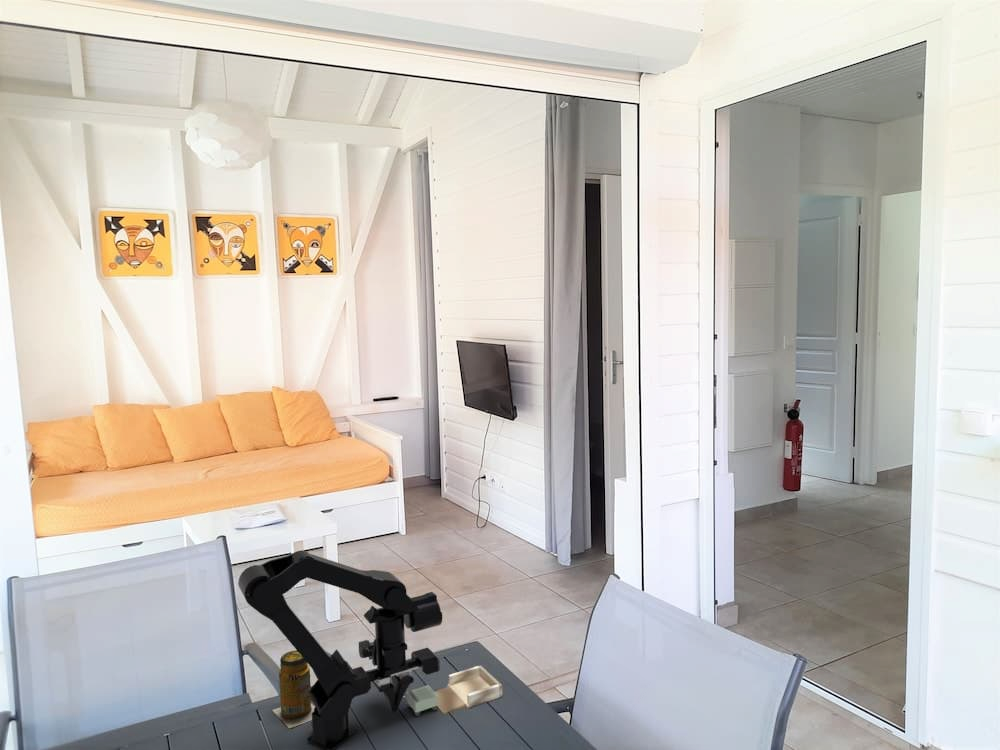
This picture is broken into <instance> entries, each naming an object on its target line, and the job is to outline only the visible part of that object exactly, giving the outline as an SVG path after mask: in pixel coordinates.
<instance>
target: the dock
mask: <svg viewBox="0 0 1000 750" xmlns="http://www.w3.org/2000/svg"><path fill="white" fill-rule="evenodd" d="M434 692H435V693H436V694H437V695H438V707H437V709H439V710H440V711H441V712H442V714H448V713H451V712H454V711H457V710H460V709H463V708H465V707H466V708H467V709H468V708H472V707H475V706H478V705H481V704H484V703H486V702H489V701H493V700H496V699H498V698H502V697H503V685H502V684H501V683H500V682H499V680H497V679H496V678H495V677H494V676H493V675H492V674H491V673H489V671H487V670H486V668H484V667H483V666H482V665H481V664H480V665H477V666H473V667H470V668H467V669H464V670H461V671H456V672H454V673H451V674H448V683H447V685H446V686H445V687H444V688H441V689H438V690H436V691H434Z"/></svg>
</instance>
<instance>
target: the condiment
mask: <svg viewBox="0 0 1000 750" xmlns="http://www.w3.org/2000/svg"><path fill="white" fill-rule="evenodd" d="M279 661H280V664H279V665H280V670H279V672H278V678H279V679H278V680H279V698H280V706H279V707H277V708H273V709H272V712H273V713H274V714H275V715H276V717H277V718H278V719H279V720H280V721H281V722H283V723H284V725H285V726H286V727H287V728H288V729H291V728H295V727H298V726H299V725H303V724H305V723H307V722H310V721H312V713H313V712H314V708H315V705H314V703H313V702H312V700H311V698H310V696H309V694H308V692H309V690H310V689H311V688H312V686H311V673H310V672H311V671H310V670H311V669H310V668H311V667H310V665H309V664H308V663H307V662H306V661H305V659H304V658H303V657H302V656H301V655H300V653H299V652H298V651H297V650H296V649H295V650H290V651H287V652H286V653H284V654H283V655H281V657H280V660H279Z"/></svg>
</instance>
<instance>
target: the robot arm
mask: <svg viewBox="0 0 1000 750" xmlns="http://www.w3.org/2000/svg"><path fill="white" fill-rule="evenodd" d="M307 578H308V579H310V580H313V581H318V582H320V583H323V584H327V585H331V586H333V587H336V588H340V589H343V590H345V591H350V592H353V593H356V594H359V595H361V596H362V597H364V598H366V599H367V600H369V601H371V602H372V603H374V604H375V605H377V606H379V607H378V608H377V607H375V606H373V605H372V606H371V607H370V608H369V609H368V610H366V611H365V613H364V614H363V618H364V619H366V621H367V622H368V623H369V624H371V625H372V624H374V629H375V630H374V632H375V638H374V640H373V641H372V642H370V640H369V639H368V640H367V639H365V640H362V641H358V653H359V657H360V658H361V659H366V658H368V660H369V661H371V663H372V665H373V666H374V667H375V666H376V669H373V670H370V671H365V669H364V668H363V666H361V665H360V666H359V667H354V668H352V666H351V665H350V664H349V662H348V661H347V660H346V659H345V658H344V657H343V656H342V654H341V653H340V652H339V649H335V650H334V652H333V653H330V652H328V651H327V650H325V649H324V647H323V646H322V645H321V644H320V642H318V640H317V639H316V637H315V636H314V635H313V634H312V632H311V631H310V630H309V629H308V628H307V627H306V625H305V624H304V623H303V622H302V621H301V619H300V618H299V617H298V616H297V614H296V613H295V612H294V610H292V608H291V607H290V605H288V602H287V601H286V598H285V596H284V595H285V594H286V593H288V592H289V591H290V590H291V589H292V588H294V587H295V586H296V585H297V584H299V583H300V582H301V581H304V580H305V579H307ZM237 585H238V588H239V589H240V592H241V594H242V595H243V597H244V599H245V601H246V603H247V604H248V605H249V606H250V607H251V608H252V609H254V610H255V611H256V612H258V613H259V614H261V615H262V616H263V617H265V618H267V619H269V620H270V621H272V623H274V624H275V626H276V627H277V628H278V629H279V631H280V632H281V633H282V634H283V635H284V636H285V638H286V640H287V641H289V643H290V644H291V645H292V646H293V648H294V649H295V651H296V650H297V651H298V652H299V653H300V655H301V656H302V657H303V658H304V659H305V661H306V662H307V663H308V665H309V668H311V669H312V671H313V673H314V675H315V677H316V679H317V680H316V681H315V682H314V684H313V685H312V686H311V689H310V690H309V692H308V694H309V696H310V698H311V703H312V704H313V705H314V706H315V708H314V712H313V713H312V720H311V726H312V734H311V735H310V736H309V737H307V739H306V740H307V743H308V744H312V745H314V746H317V747H318V748H321V749H324V750H335V749H337V748H338V747H340V746H341V745H342V744H344V743H345V742H346V741H347V740H349V739H350V738H351V737H352V736H353V735H355V731H354V729H351V728H350V726H349V725H350V724H349V723H350V721H349V711H350V707H351V705H352V702H353V699H354V698H356V697H359V696H362V695H365V694H368V693H369V691H370V690H371V689H372V684H373V686H374V687H375V688H376V690H377V691H378V692H379V693H383V695H384V697H385V700H386V702H387V705H388V707H389V709H390V711H391V713H396V712H397V711H398V708H399V707H400V704H401V702H402V700H403V697H404V696H405V693H406V692H407V690H408V688H409V687H410V685H411V684H412V683H414V682H415V679H414V678H413V676H412V671H413V670H417V669H420V668H421V672H422V673H424V674H425V675H431V674H434V673H437V672H439V671H440V670H441V664H440V663H441V662H440V659H439V657H438V656H437V655H436V654H435V653H434V652H433V650H432V649H430V648H429V647H425V648H422V649H418V650H414V651H412V652H411V655H410V658H411V659H408V660H406V659H407V656H406V655H407V654H406V651H407V650H408V644H407V643H406V637H405V628H407V629H410V630H411V632H413V633H416V632H420V631H424V630H427V629H431V628H432V629H433V628H434V627H439V626H441V625H442V623H443V612H442V610H441V607H440V604H439V601H438V599H437V598H438V597H437V594H435V592H433V591H430V592H427V593H424V594H421V595H417V596H414V597H410V596H409V595H408V594H407V588H406V585H405V584H404V583H403V582H402V581H401V580H400V579H398V577H396V576H395V575H394V574H393V573H392V572H390V571H386V570H375V569H371V570H364V569H363V570H362V569H358V568H355V567H352V566H349V565H346V564H343V563H341V562H337V561H333V560H331V559H329V558H328V559H327V558H323V557H321V556H318V555H315V554H312V553H309V552H308V551H307V550H302V549H301V550H297V551H294V552H292V553H290V554H288V555H284V556H281V557H277V558H274V559H271V560H268V561H266V562H264V563H261V564H254V565H251V566H248V567H246V568H245V569H244V570H243V571H242V572H241V573H240V576H239V578H238V583H237Z"/></svg>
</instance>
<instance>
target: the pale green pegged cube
mask: <svg viewBox="0 0 1000 750" xmlns="http://www.w3.org/2000/svg"><path fill="white" fill-rule="evenodd" d="M407 690H408V691H406V692H405V693H406V694H405V696H406V697H405V698H406V703H407V707H409V708H411V709H412V710H413V714H414V715H415V716H416V717H419V716H420V715H421V712H422V711H426V710H428V709H432V711H436V710H437V709H438V695H437V694H436V693H435V692H436V691H434V689H433V688H432V687H431V686H430V685H428V684H427V685H425V686H422V687H418V688H415V689H407Z"/></svg>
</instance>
